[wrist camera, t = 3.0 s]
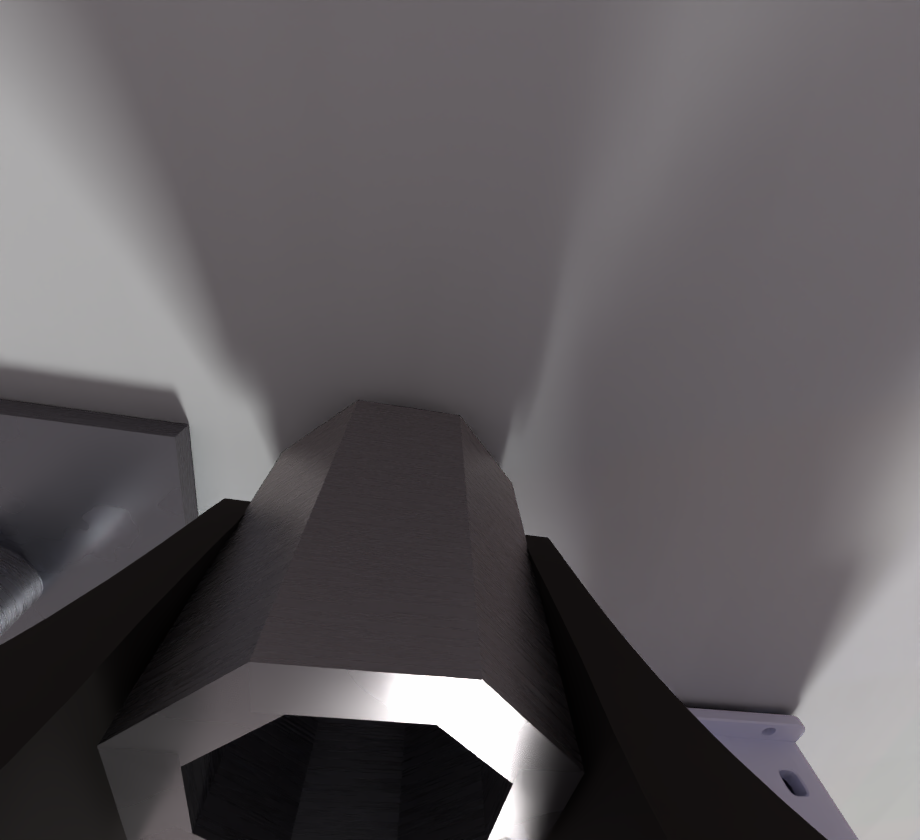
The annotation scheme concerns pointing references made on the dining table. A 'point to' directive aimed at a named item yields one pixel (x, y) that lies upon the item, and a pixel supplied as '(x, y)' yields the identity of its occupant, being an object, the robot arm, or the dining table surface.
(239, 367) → the dining table surface
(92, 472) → the post
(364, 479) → the tube
